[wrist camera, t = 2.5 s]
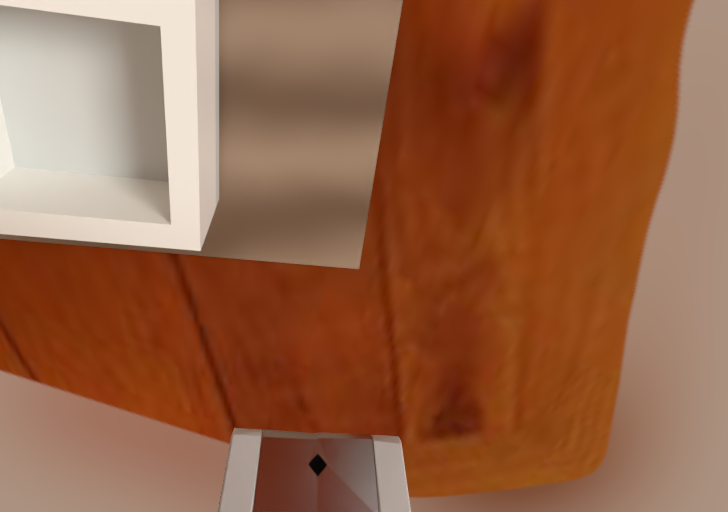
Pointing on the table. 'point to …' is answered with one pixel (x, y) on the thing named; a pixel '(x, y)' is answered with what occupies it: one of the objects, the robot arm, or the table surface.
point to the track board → (295, 129)
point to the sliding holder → (109, 120)
